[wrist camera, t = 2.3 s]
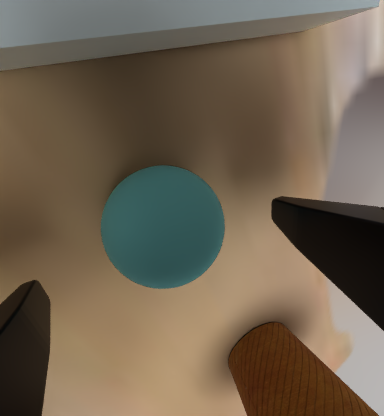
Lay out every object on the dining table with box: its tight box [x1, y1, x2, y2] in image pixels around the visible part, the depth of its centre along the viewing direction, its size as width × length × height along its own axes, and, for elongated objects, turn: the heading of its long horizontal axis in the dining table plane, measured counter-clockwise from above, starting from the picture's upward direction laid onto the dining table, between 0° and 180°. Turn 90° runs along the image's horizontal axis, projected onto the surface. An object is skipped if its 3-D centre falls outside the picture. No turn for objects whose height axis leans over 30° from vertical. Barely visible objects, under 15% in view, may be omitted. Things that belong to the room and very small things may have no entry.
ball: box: [101, 165, 225, 289], centre depth 10 cm, size 5×5×5 cm
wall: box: [0, 0, 380, 71], centre depth 7 cm, size 18×1×4 cm, turn 99°
